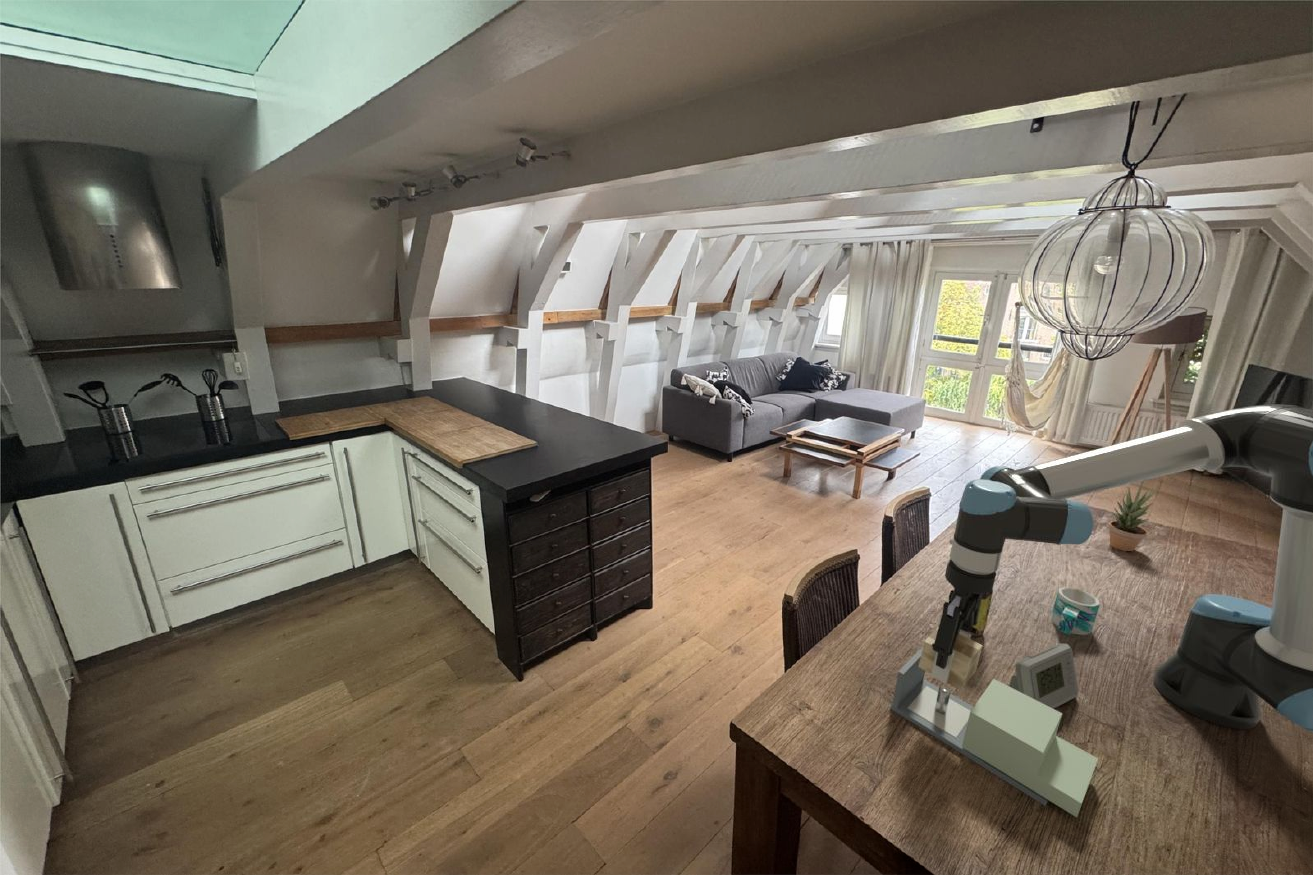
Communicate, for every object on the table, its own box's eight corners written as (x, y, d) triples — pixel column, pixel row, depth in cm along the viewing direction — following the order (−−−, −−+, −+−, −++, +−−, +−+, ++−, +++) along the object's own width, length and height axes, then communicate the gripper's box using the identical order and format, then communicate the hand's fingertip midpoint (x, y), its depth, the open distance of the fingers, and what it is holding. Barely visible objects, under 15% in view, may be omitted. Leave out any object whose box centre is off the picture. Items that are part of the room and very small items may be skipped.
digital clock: (1026, 723, 99) (1039, 678, 96) (988, 688, 108) (999, 646, 105) (1092, 709, 103) (1107, 666, 100) (1051, 677, 111) (1063, 636, 108)
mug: (1094, 626, 128) (1103, 597, 126) (1083, 647, 121) (1092, 617, 118) (1055, 610, 134) (1062, 583, 132) (1041, 629, 127) (1049, 600, 124)
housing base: (1064, 762, 91) (1078, 721, 88) (1045, 806, 83) (1059, 762, 81) (917, 679, 110) (924, 643, 107) (890, 709, 102) (897, 670, 100)
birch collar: (975, 671, 98) (982, 645, 96) (960, 690, 93) (967, 663, 91) (934, 649, 103) (940, 625, 101) (918, 666, 98) (924, 641, 97)
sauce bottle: (988, 639, 123) (1005, 567, 117) (960, 635, 124) (975, 564, 118) (977, 622, 129) (993, 553, 123) (950, 619, 130) (965, 550, 124)
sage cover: (1093, 771, 88) (1106, 735, 86) (1076, 817, 80) (1090, 779, 78) (985, 711, 100) (993, 678, 98) (961, 746, 93) (970, 711, 90)
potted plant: (1149, 555, 162) (1173, 483, 155) (1119, 554, 162) (1142, 483, 155) (1122, 539, 172) (1144, 471, 165) (1094, 539, 172) (1114, 471, 165)
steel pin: (946, 715, 101) (952, 690, 99) (942, 720, 100) (948, 695, 98) (936, 708, 102) (941, 684, 101) (932, 714, 101) (937, 689, 99)
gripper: (970, 539, 100) (948, 636, 107) (926, 575, 87) (904, 682, 94) (1014, 554, 95) (988, 655, 102) (974, 595, 82) (947, 707, 89)
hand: (947, 668), depth 98 cm, fingers closed on birch collar, 8 cm apart
